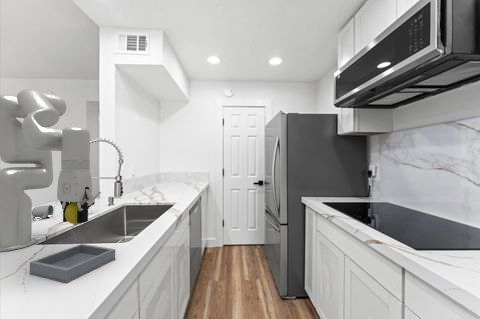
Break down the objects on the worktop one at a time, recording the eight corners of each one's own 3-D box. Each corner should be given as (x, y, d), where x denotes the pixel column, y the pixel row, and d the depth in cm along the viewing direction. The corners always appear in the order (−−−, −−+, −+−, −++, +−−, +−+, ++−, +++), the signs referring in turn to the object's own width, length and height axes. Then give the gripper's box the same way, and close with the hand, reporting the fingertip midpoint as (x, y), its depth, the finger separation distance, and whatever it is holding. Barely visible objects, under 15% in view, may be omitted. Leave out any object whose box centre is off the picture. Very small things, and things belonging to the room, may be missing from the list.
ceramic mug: (37, 217, 137) (37, 204, 137) (54, 216, 140) (54, 203, 140) (27, 221, 127) (27, 208, 127) (45, 220, 130) (45, 207, 130)
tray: (29, 274, 68) (29, 262, 68) (81, 253, 83) (81, 243, 83) (66, 283, 62) (66, 270, 62) (115, 259, 78) (115, 249, 78)
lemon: (89, 222, 76) (89, 199, 76) (78, 227, 70) (78, 202, 70) (73, 223, 75) (73, 199, 76) (60, 227, 70) (60, 202, 70)
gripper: (45, 166, 72) (44, 222, 72) (83, 166, 67) (83, 227, 66) (69, 165, 79) (69, 217, 79) (106, 165, 74) (105, 221, 74)
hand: (75, 221), depth 73 cm, fingers closed on lemon, 5 cm apart
